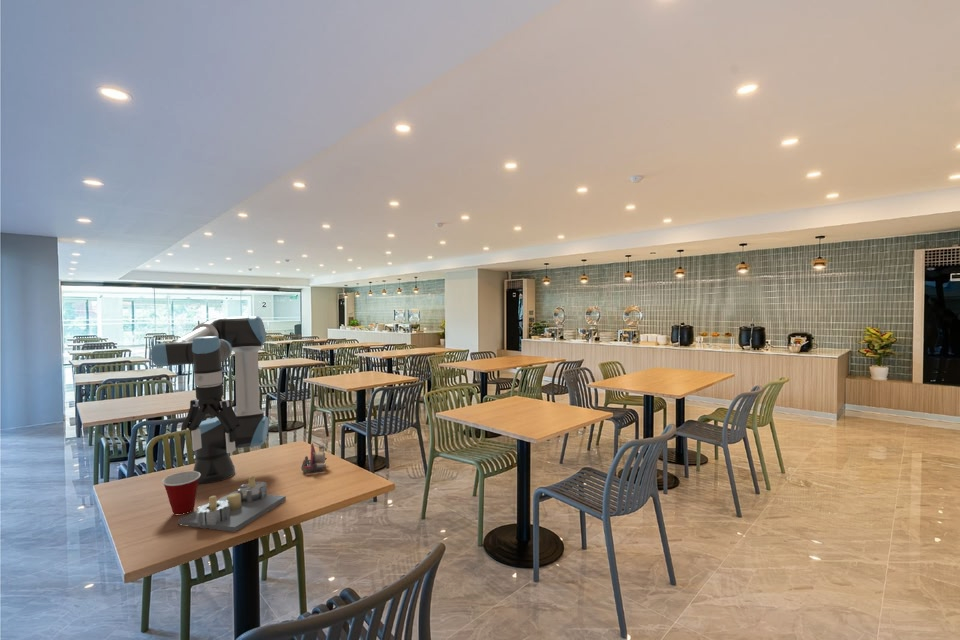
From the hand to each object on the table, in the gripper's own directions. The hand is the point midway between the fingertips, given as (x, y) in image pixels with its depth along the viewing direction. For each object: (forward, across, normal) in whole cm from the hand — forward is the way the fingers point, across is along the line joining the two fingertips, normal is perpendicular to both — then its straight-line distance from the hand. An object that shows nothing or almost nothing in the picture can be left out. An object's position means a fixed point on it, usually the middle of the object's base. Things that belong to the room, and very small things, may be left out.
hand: (214, 450), depth 144 cm
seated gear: (+21, +3, +12) cm, 24 cm away
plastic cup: (+22, -15, +1) cm, 27 cm away
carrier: (+22, +3, +4) cm, 22 cm away
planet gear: (+20, +2, -4) cm, 21 cm away
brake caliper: (+23, +5, +42) cm, 49 cm away
